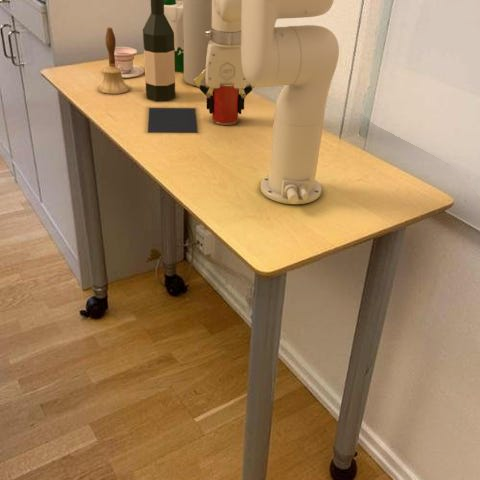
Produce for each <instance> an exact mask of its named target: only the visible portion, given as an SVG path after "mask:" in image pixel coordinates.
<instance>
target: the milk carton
mask: <svg viewBox="0 0 480 480" xmlns="http://www.w3.org/2000/svg"><path fill="white" fill-rule="evenodd" d="M164 15H165V17H166V18H167V20H168V22H169V24H170V26H171V28H172V30H173V32H174V58H175V73H176V72H177V73H184V38H183V0H182V1H181V0H180V1H179V0H178V1H177V0H164Z"/></svg>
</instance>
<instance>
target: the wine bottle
mask: <svg viewBox="0 0 480 480" xmlns="http://www.w3.org/2000/svg"><path fill="white" fill-rule="evenodd" d="M142 41H143V61H144V62H143V63H144V78H145V80H144V81H145V96H146V99H147V100H150V101H153V102H169V101H172V100H174V99H176V71H175V58H174V32H173V30H172V28H171V26H170V24H169V22H168V20H167V18H166V17H165V15H164V0H150V15H149V17H148V19H147V20H146V22H145V24H144V26H143V29H142Z"/></svg>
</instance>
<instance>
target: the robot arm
mask: <svg viewBox="0 0 480 480" xmlns="http://www.w3.org/2000/svg"><path fill="white" fill-rule="evenodd" d="M334 1H335V0H212V27H211V29H210V30H208V31H205V37H208V38H210V39H211V41H209V43H208V48H207V55H206V68H205V69H204V70H203V71H202V72H201V73H200V74H199V75H197V76H196V77H195V78H194V83H195V84H196V85H197V88H198V89H199V90H200V92H202V94H204V96H205V97H206V110H208V112H209V114H210V115H212V113H213V97H212V93H213V91H214V88H215V89H218V88H220V85H219V84H234V88H235V89H238V90H239V104H238V115H242V110H243V111H244V110H245V99H246V98H247V96H248V95H249V94H250V93H251V92H252V91H253V90H254V88H255V87H256V88H268V87H281V86H283V88H282V89H281V91H280V93H279V94H278V96H277V99H276V102H275V106H274V114H273V125H272V137H271V147H270V148H271V149H270V160H269V169H268V170H269V171H268V172H269V173H268V175H266V176H265V177H263V179H262V180H261V182H260V191H261V193H262V194H263V196H265V197H266V198H268V199H270V200H272V201H275V202H277V203H279V204H285V205H286V204H287V205H305V204H310V203H312V202H314V201H316V200H318V199H319V198H320V196H321V194H322V189H323V188H322V184H320V182H319V181H318V180H317V179H316V177H317V171H318V170H317V169H318V164H319V156H320V148H321V141H322V135H323V127H324V121H325V115H326V107H327V103H328V102H327V101H328V96H329V91H330V88H331V84H332V81H333V78H334V75H335V72H336V69H337V65H338V62H339V57H340V45H339V42H338V39H337V37H336V35H335V34H334V32H333V31H332V30H330V29H328V28H327V27H324V26H321V25H315V24H307V25H306V24H305V25H288V26H276V23H277V20H280V19H282V20H283V19H301V18H303V19H304V18H314V17H320V16H322V15H325V14H326V13H328V12H329V11H330V10H331V8H332V7H333V4H334ZM204 78H206V84H207V86H208V87H207V88H206V87H205V86H204V84H202V82H201V80H202V79H204Z"/></svg>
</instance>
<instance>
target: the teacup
mask: <svg viewBox="0 0 480 480" xmlns="http://www.w3.org/2000/svg"><path fill="white" fill-rule="evenodd" d="M137 52H138V50H137V49H136V48H133V47H129V46H115V52H114V56H115V66H116V67H117V68H119V69H120V70H121V75H122V78H123V79H129V78H136V77H139V76H142V75H143V74H145V68H143V67H141V66H139V65H136V64H134V59H135V56H136V54H137ZM107 67H109V65H108V66H106V67H104V69H103V71H104V70H105V69H106V68H107Z"/></svg>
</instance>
